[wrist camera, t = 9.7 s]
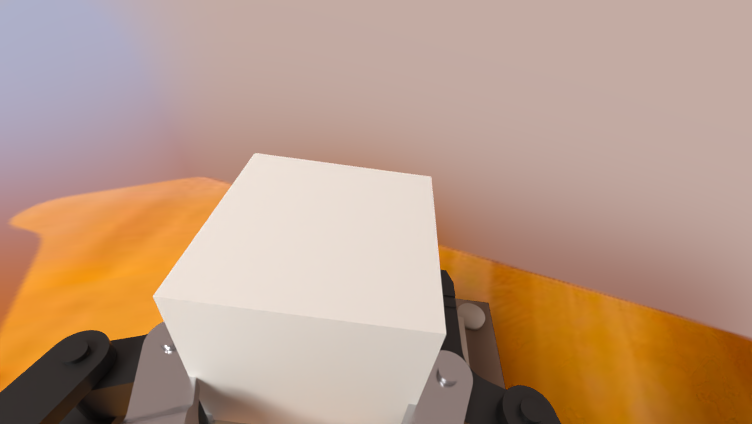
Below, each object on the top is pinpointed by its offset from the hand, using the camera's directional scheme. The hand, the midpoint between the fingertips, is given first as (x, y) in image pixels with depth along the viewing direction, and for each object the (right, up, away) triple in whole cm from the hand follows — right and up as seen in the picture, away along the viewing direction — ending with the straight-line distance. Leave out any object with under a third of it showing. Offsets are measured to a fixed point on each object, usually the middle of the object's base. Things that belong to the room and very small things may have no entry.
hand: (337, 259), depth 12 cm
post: (-1, -6, +2) cm, 7 cm away
